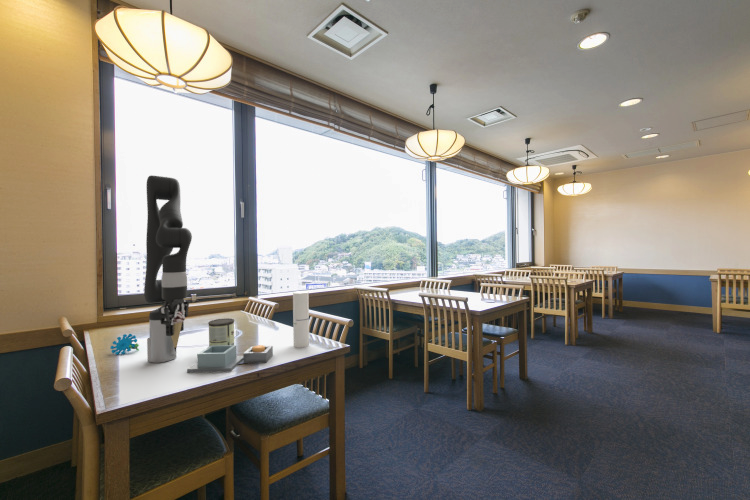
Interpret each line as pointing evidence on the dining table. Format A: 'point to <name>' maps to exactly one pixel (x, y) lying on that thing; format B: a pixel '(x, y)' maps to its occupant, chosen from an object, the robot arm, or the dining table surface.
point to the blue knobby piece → (125, 344)
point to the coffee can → (221, 332)
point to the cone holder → (217, 359)
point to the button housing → (258, 355)
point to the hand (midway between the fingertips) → (175, 332)
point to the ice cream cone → (177, 328)
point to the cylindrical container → (301, 319)
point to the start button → (258, 348)
